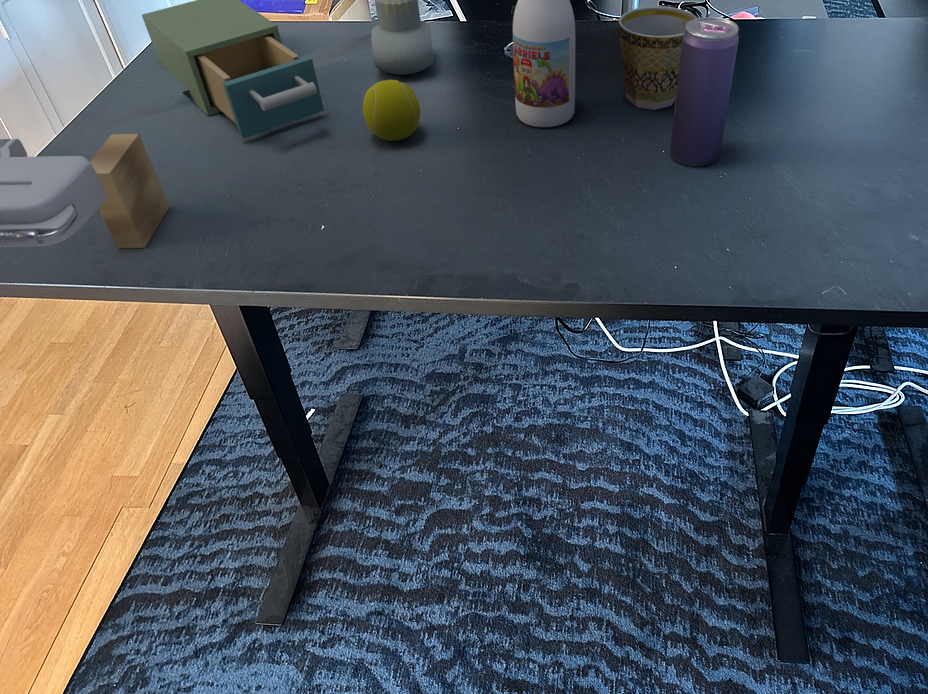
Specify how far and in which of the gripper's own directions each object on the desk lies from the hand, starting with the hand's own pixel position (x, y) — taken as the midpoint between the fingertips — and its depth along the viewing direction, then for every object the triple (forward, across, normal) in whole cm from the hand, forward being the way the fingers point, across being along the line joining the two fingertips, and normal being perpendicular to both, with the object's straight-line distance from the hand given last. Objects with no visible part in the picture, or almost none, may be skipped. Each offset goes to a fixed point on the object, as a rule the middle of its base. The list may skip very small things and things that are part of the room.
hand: (6, 146), depth 64 cm
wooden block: (+14, 0, +17) cm, 22 cm away
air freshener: (+54, -24, +17) cm, 61 cm away
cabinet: (+50, +1, +17) cm, 53 cm away
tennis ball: (+33, -26, +17) cm, 45 cm away
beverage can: (+27, -63, +17) cm, 70 cm away
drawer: (+39, -8, +16) cm, 43 cm away
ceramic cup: (+43, -59, +17) cm, 75 cm away
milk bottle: (+38, -45, +17) cm, 61 cm away
